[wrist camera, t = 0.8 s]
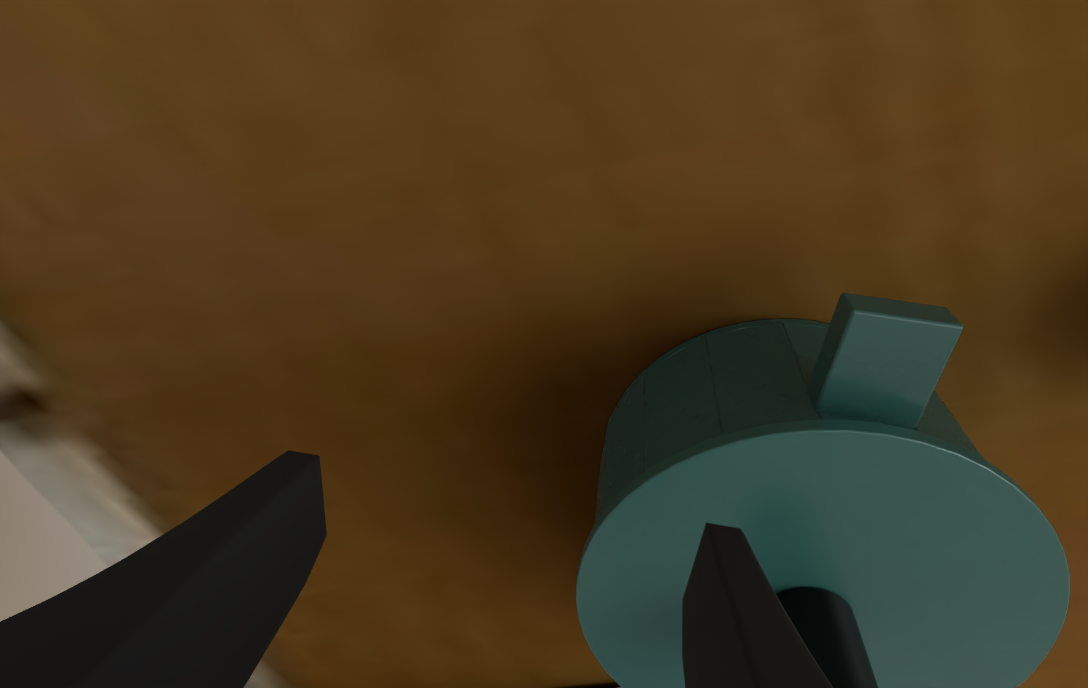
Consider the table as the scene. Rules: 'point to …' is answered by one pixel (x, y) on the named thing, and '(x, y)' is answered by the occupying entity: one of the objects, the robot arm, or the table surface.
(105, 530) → the table surface
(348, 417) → the table surface
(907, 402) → the pot
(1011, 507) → the lid
